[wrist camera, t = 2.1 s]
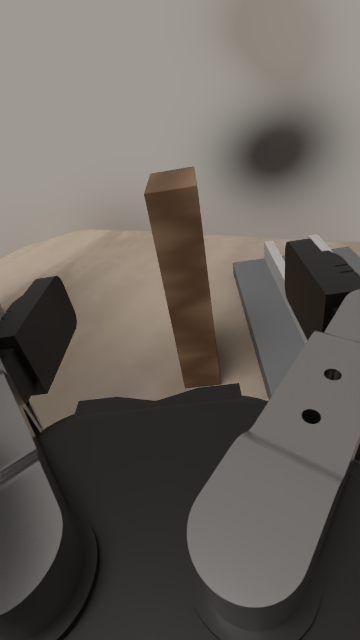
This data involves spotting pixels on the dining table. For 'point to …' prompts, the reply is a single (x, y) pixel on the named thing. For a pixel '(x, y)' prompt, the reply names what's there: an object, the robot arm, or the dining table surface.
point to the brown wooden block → (184, 271)
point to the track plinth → (275, 310)
